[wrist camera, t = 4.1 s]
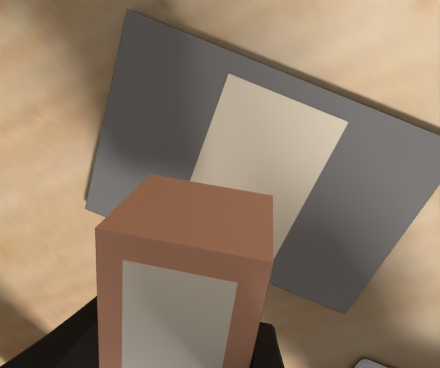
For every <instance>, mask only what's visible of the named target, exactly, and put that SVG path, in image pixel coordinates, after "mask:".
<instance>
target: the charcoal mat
mask: <svg viewBox="0 0 440 368" xmlns="http://www.w3.org/2000/svg"><path fill="white" fill-rule="evenodd" d="M150 174H152V175H158V176H164V177H169V178H175V179H181V180H187V181H192V182H198V183H204V184H210V185H215V186H221V187H227V188H232V189H238V190H244V191H250V192H255V193H261V194H267V195H273V267H272V271H271V275H270V280H269V283H270V284H272V285H275V286H277V287H280V288H282V289H285V290H287V291H289V292H292V293H294V294H297V295H299V296H302V297H304V298H307V299H309V300H312V301H314V302H317V303H319V304H322V305H324V306H327V307H329V308H332V309H334V310H336V311H339V312H341V313H344V314H345V313H346V312H347V310H348V309H349V308H350V306H351V305H352V304H353V302H354V301H355V299H356V298H357V297H358V295H359V294H360V293H361V291H362V290H363V289H364V287H365V286H366V284H367V283H368V282H369V280H370V279H371V278H372V276H373V275H374V273H375V272H376V271H377V269H378V268H379V267H380V265H381V264H382V263H383V261H384V260H385V258H386V257H387V256H388V254H389V253H390V252H391V250H392V249H393V248H394V246H395V245H396V243H397V242H398V241H399V239H400V238H401V237H402V235H403V234H404V233H405V231H406V230H407V228H408V227H409V226H410V224H411V223H412V222H413V220H414V219H415V218H416V216H417V215H418V213H419V212H420V211H421V209H422V208H423V207H424V205H425V204H426V203H427V201H428V200H429V198H430V197H431V196H432V194H433V193H434V192H435V190H436V189H437V188H438V186H439V185H440V135H438V134H435V133H433V132H430V131H428V130H425V129H423V128H420V127H418V126H415V125H413V124H411V123H408V122H406V121H403V120H401V119H398V118H396V117H393V116H391V115H388V114H386V113H383V112H381V111H378V110H376V109H373V108H371V107H369V106H366V105H364V104H361V103H359V102H356V101H354V100H351V99H349V98H346V97H344V96H341V95H339V94H336V93H334V92H332V91H329V90H327V89H324V88H322V87H319V86H317V85H314V84H312V83H309V82H307V81H304V80H302V79H299V78H297V77H295V76H292V75H290V74H287V73H285V72H282V71H280V70H277V69H275V68H272V67H270V66H267V65H265V64H262V63H260V62H257V61H255V60H253V59H250V58H248V57H245V56H243V55H240V54H238V53H235V52H233V51H230V50H228V49H225V48H223V47H220V46H218V45H216V44H213V43H211V42H208V41H206V40H203V39H201V38H198V37H196V36H193V35H191V34H188V33H186V32H183V31H181V30H178V29H176V28H174V27H171V26H169V25H166V24H164V23H161V22H159V21H156V20H154V19H151V18H149V17H146V16H144V15H141V14H139V13H137V12H134V11H132V10H128V9H127V13H126V18H125V22H124V27H123V32H122V37H121V41H120V46H119V51H118V55H117V60H116V65H115V70H114V74H113V79H112V84H111V88H110V93H109V98H108V103H107V107H106V112H105V117H104V121H103V126H102V131H101V136H100V140H99V145H98V150H97V154H96V159H95V164H94V169H93V173H92V178H91V183H90V187H89V192H88V197H87V202H86V206H85V209H87V210H89V211H92V212H94V213H97V214H99V215H102V216H104V217H107V216H108V215H109V214H110V213H111V212H112V211H113V210H114V209H115V208H116V207H117V206H118V205H119V204H120V203H121V202H122V201H123V200H124V199H125V198H126V197H127V196H128V195H129V194H130V193H132V192H133V191H134V190H135V189H136V188H137V187H138V186H139V185H140V184H141V183H142V182H143V181H144V180H145V179H146V178H147V177H148V176H149V175H150Z"/></svg>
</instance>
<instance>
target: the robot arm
mask: <svg viewBox="0 0 440 368" xmlns="http://www.w3.org/2000/svg"><path fill="white" fill-rule="evenodd" d="M0 368H99V343H98V308H97V296H96V297H95V298H94V299H92V300H91V301H90V302H89V303H87V304H86V305H85V306H84V307H82V308H81V309H80V310H79V311H77V312H76V313H75V314H74V315H72V316H71V317H70V318H68V319H67V320H66V321H64V322H63V323H62V324H61V325H59V326H58V327H57V328H55V329H54V330H53V331H51V332H50V333H49V334H47V335H46V336H44V337H43V338H42V339H40V340H39V341H37V342H36V343H34V344H33V345H32V346H30V347H29V348H27V349H26V350H24V351H23V352H22V353H20V354H19V355H17V356H16V357H14V358H13V359H11V360H10V361H8V362H6V363H5V364H3V365H2V366H0ZM249 368H285V367H284V364H283V361H282V357H281V354H280V350H279V346H278V342H277V338H276V333H275V328H274V326H273V325H272V324H268V323H263V322H260V324H259V328H258V332H257V337H256V341H255V345H254V350H253V354H252V359H251V363H250V367H249ZM354 368H388V367H385V366H383V365H380V364H378V363H375V362H373V361H370V360H367V359H363V360H361V361H360V362H358V364H357V365H356V366H355V367H354Z"/></svg>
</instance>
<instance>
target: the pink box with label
mask: <svg viewBox="0 0 440 368" xmlns="http://www.w3.org/2000/svg"><path fill="white" fill-rule="evenodd" d="M95 239H96V274H97V308H98V343H99V368H249V367H250V363H251V359H252V354H253V350H254V345H255V341H256V337H257V332H258V328H259V324H260V319H261V315H262V310H263V306H264V302H265V297H266V293H267V289H268V284H269V280H270V275H271V271H272V267H273V195H267V194H261V193H255V192H250V191H244V190H238V189H232V188H227V187H221V186H215V185H210V184H204V183H198V182H192V181H187V180H181V179H175V178H169V177H164V176H158V175H152V174H150V175H149V176H148V177H147V178H146V179H145V180H144V181H143V182H142V183H141V184H140V185H139V186H138V187H137V188H136V189H135V190H134V191H133V192H132V193H130V194H129V195H128V196H127V197H126V198H125V199H124V200H123V201H122V202H121V203H120V204H119V205H118V206H117V207H116V208H115V209H114V210H113V211H112V212H111V213H110V214H109V215H108V216H107V217H106V218H105V219H104V220H103V221H102V222H101V223H100V224H99V225H98V226H97V227H96V228H95Z"/></svg>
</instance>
